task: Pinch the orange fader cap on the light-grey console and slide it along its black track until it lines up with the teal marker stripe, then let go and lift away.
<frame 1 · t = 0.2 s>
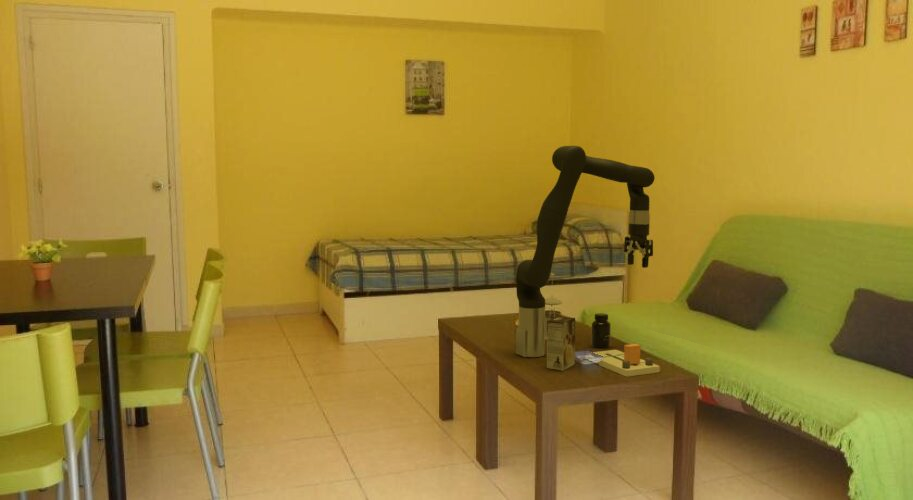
hand: (637, 266, 287), 29 cm above the table, tool pointing down, fingers open, 8 cm apart
french press: (551, 337, 299), on the table
console: (620, 365, 258), on the table
coffee box: (560, 367, 257), on the table
supplement bottle: (600, 346, 284), on the table
fader cap: (632, 354, 252), point 5 cm above the table, slide at -6.0 cm
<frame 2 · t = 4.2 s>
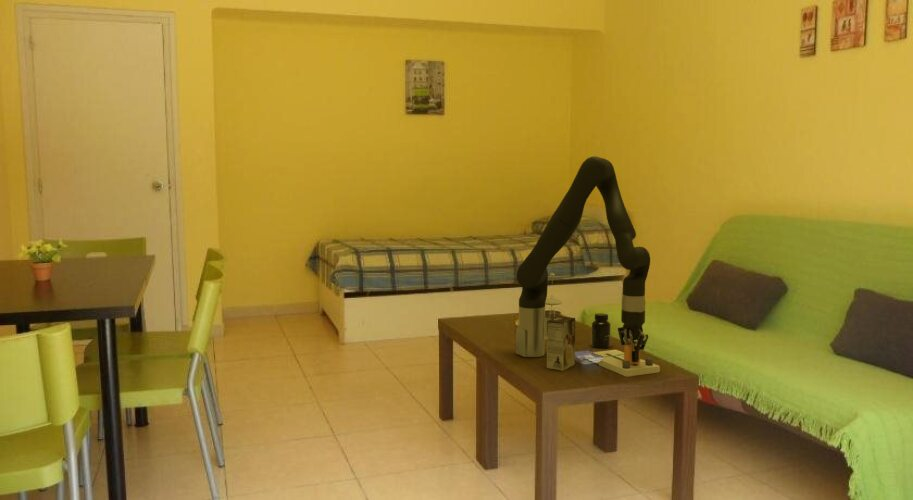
hand: (632, 360, 252), 3 cm above the table, tool pointing down, fingers closed on fader cap, 2 cm apart
fader cap: (632, 354, 252), point 5 cm above the table, slide at -6.0 cm, touching gripper
everything else where it was.
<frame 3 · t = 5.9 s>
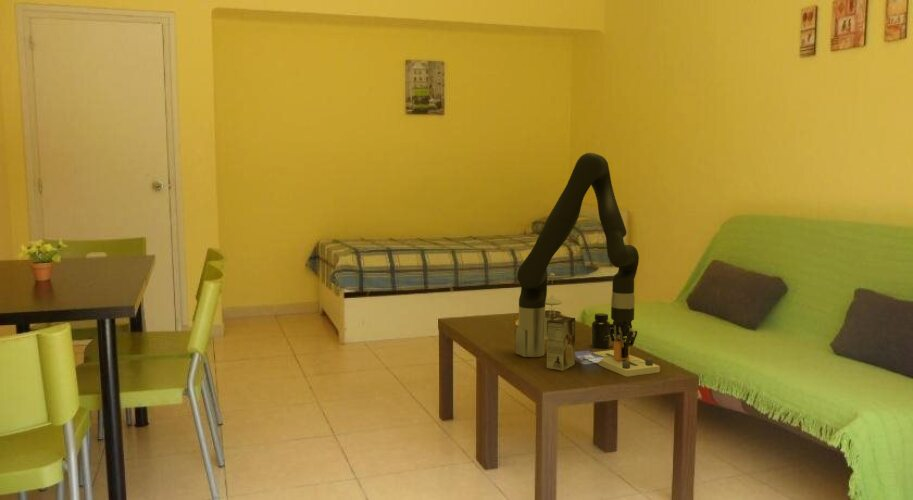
hand: (621, 356, 257), 3 cm above the table, tool pointing down, fingers closed on fader cap, 2 cm apart
fader cap: (621, 350, 257), point 5 cm above the table, slide at -0.3 cm, touching gripper
everything else where it was.
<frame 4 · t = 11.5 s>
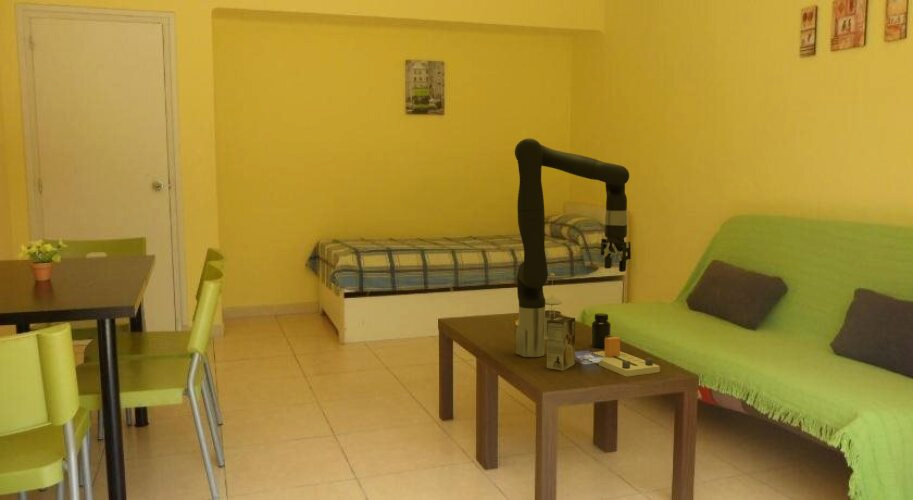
hand: (614, 269, 269), 30 cm above the table, tool pointing down, fingers open, 8 cm apart
fader cap: (612, 346, 262), point 5 cm above the table, slide at 5.0 cm
everything else where it was.
at the end: fader cap slide at 5.0 cm; the gripper is holding nothing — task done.
